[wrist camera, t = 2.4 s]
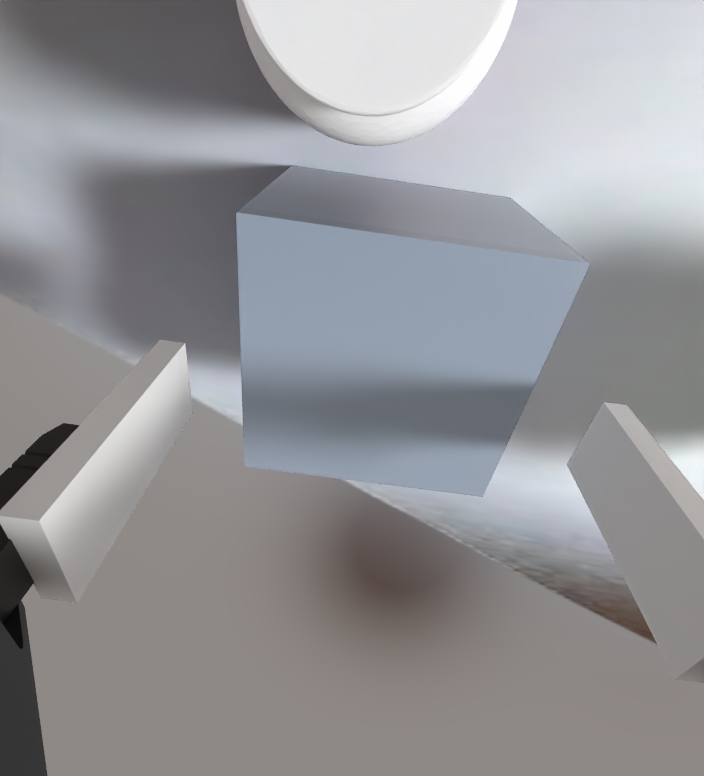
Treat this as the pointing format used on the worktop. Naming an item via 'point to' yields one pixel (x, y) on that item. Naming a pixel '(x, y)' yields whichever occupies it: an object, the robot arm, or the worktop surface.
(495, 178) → the worktop surface
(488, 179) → the worktop surface
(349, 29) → the pill bottle
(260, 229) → the pale blue block
